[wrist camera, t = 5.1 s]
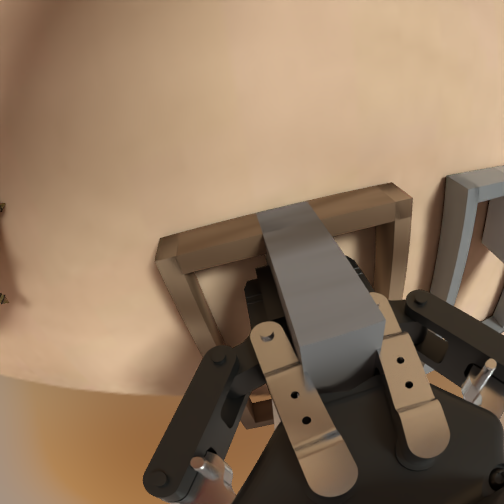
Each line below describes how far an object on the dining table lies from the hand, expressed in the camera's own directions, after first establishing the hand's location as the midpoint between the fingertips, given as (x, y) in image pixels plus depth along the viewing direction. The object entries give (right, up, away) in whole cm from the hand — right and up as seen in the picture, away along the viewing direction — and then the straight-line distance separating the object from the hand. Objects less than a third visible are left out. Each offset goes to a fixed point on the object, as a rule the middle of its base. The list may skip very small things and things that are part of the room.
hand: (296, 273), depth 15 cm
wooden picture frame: (+1, -4, +4) cm, 6 cm away
